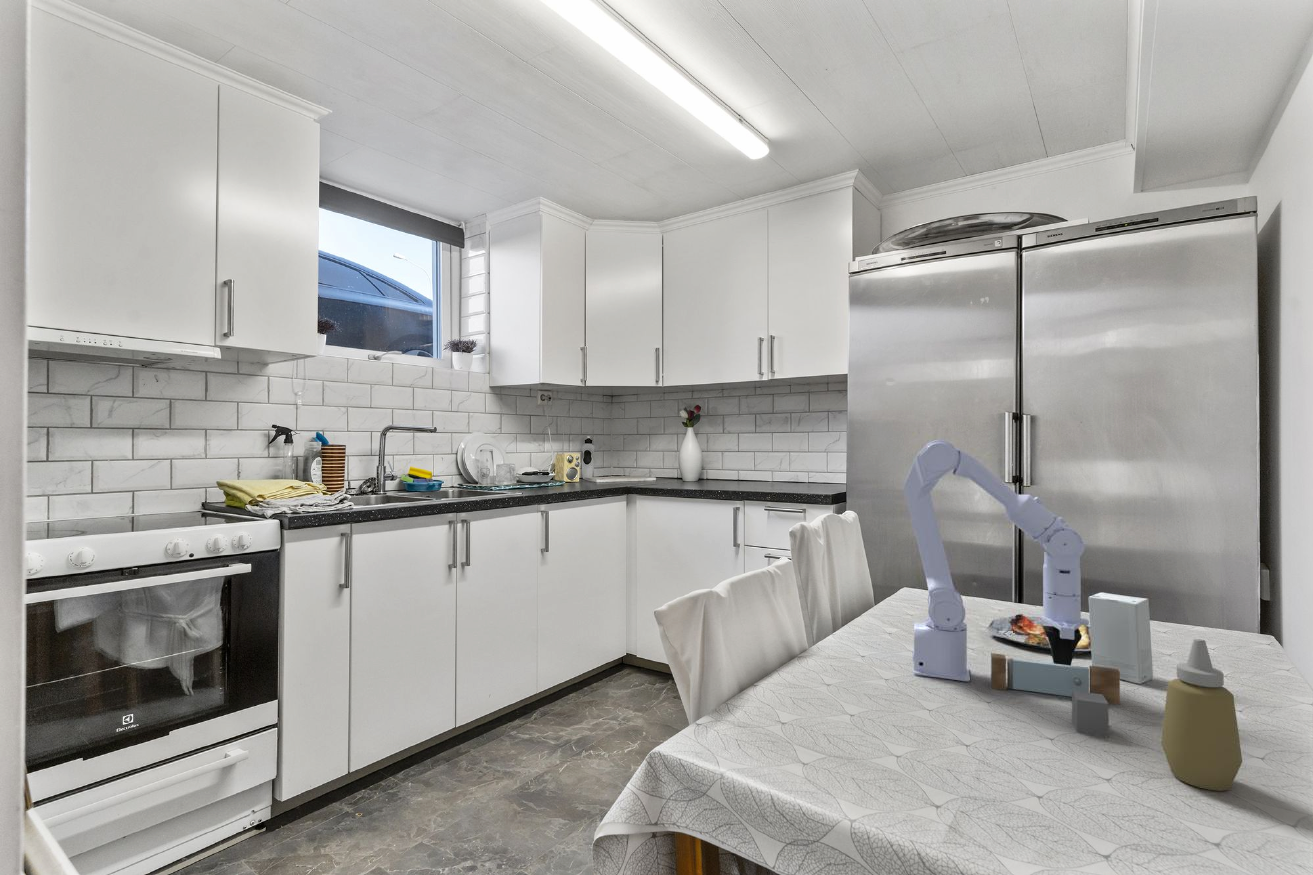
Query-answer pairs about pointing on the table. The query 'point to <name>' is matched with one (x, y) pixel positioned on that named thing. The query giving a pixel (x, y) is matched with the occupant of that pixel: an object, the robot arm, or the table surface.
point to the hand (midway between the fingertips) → (1061, 669)
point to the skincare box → (1121, 635)
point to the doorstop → (1090, 713)
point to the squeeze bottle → (1201, 724)
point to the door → (1046, 677)
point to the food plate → (1034, 632)
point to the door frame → (1100, 679)
